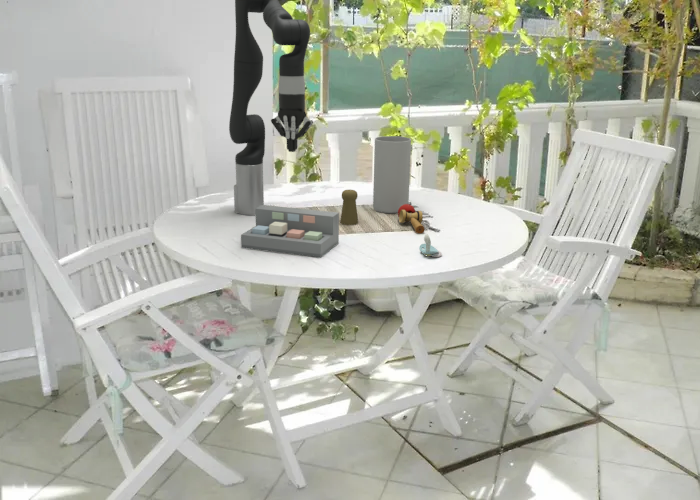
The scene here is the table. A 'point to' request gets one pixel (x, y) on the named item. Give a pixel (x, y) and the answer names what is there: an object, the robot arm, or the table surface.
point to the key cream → (278, 229)
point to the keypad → (294, 220)
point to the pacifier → (429, 248)
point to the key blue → (260, 230)
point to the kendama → (411, 217)
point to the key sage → (313, 236)
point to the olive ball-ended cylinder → (349, 208)
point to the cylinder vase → (391, 173)
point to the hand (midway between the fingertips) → (292, 151)
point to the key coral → (295, 233)
